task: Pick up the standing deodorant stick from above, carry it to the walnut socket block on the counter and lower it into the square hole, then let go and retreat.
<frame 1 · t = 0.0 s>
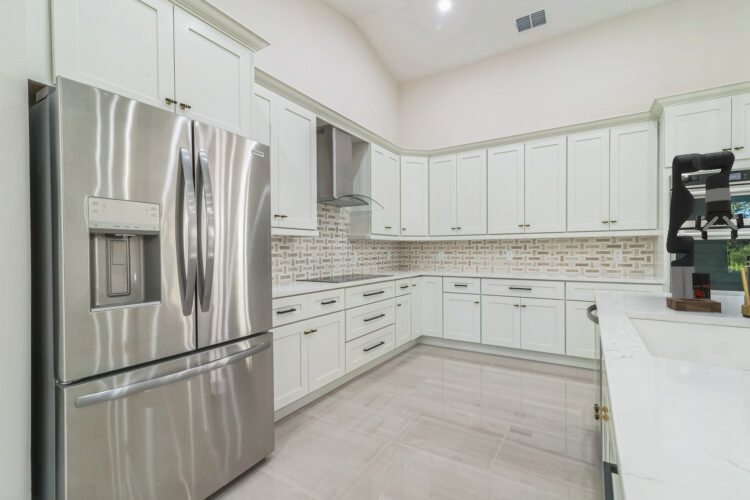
hand: (719, 240, 141), 29 cm above the counter, tool pointing down, fingers open, 8 cm apart
deodorant: (701, 306, 156), on the counter
socket block: (692, 309, 148), on the counter
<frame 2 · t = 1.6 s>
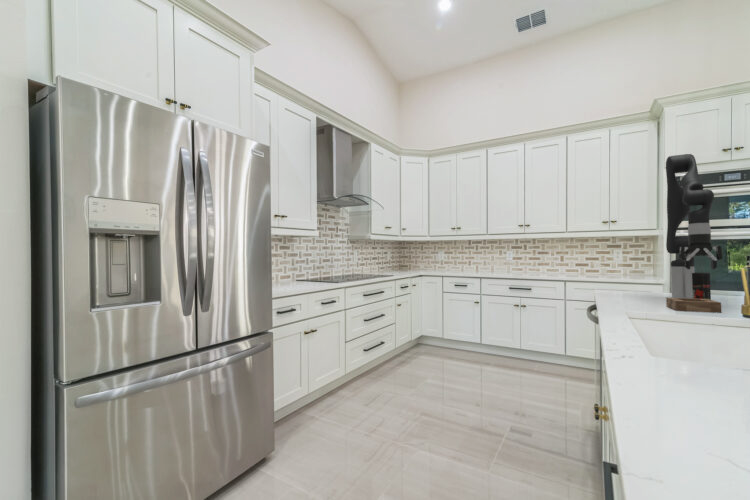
hand: (700, 269, 156), 17 cm above the counter, tool pointing down, fingers open, 8 cm apart
nothing on the counter moved.
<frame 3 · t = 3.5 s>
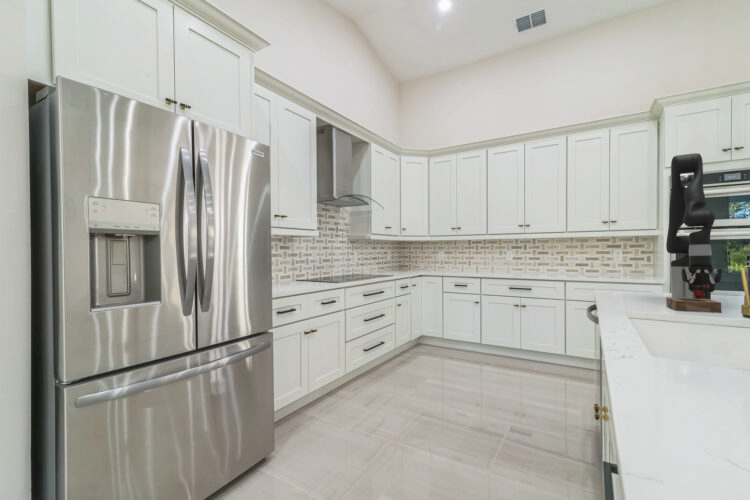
hand: (701, 291, 156), 7 cm above the counter, tool pointing down, fingers closed on deodorant, 6 cm apart
deodorant: (701, 306, 156), on the counter, touching gripper
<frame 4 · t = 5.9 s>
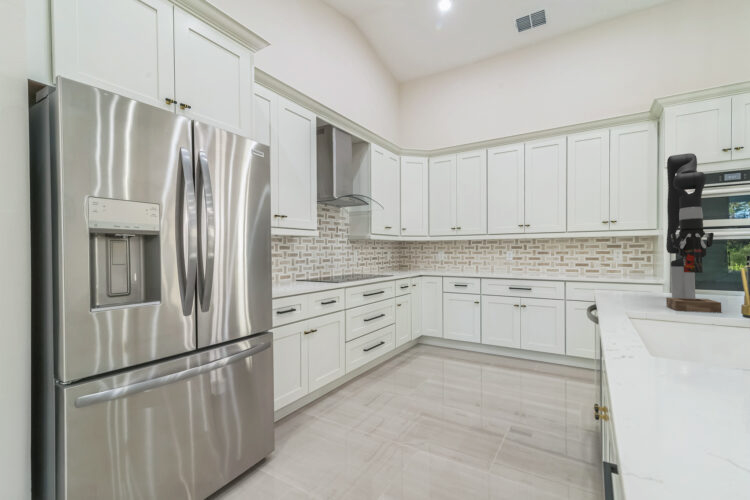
hand: (692, 257, 149), 22 cm above the counter, tool pointing down, fingers closed on deodorant, 6 cm apart
deodorant: (693, 272, 149), point 16 cm above the counter, touching gripper
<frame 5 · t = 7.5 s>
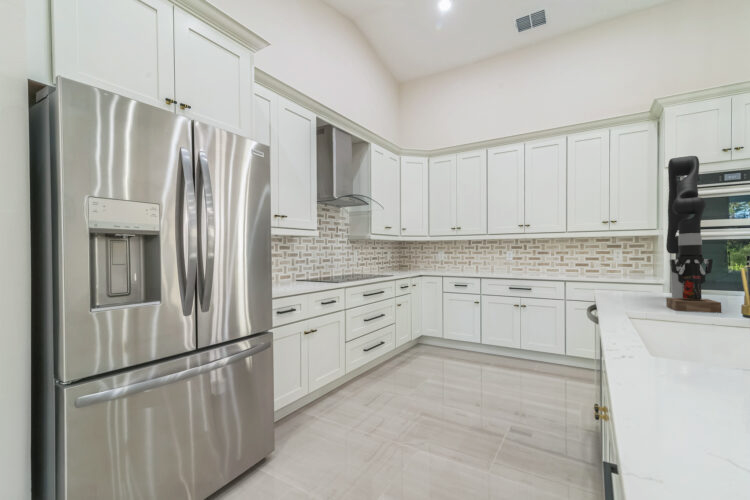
hand: (691, 283, 148), 11 cm above the counter, tool pointing down, fingers closed on deodorant, 6 cm apart
deodorant: (692, 299, 148), point 4 cm above the counter, touching gripper
when the fingers open (8 cm above the counter, at t = 8.6 s): deodorant drops 1 cm, resting in socket block.
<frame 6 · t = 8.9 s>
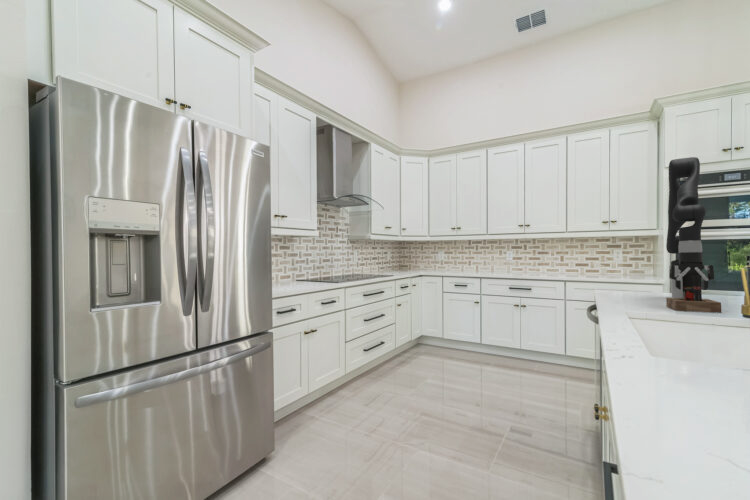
hand: (691, 289, 148), 9 cm above the counter, tool pointing down, fingers open, 8 cm apart
deodorant: (692, 309, 148), resting in socket block
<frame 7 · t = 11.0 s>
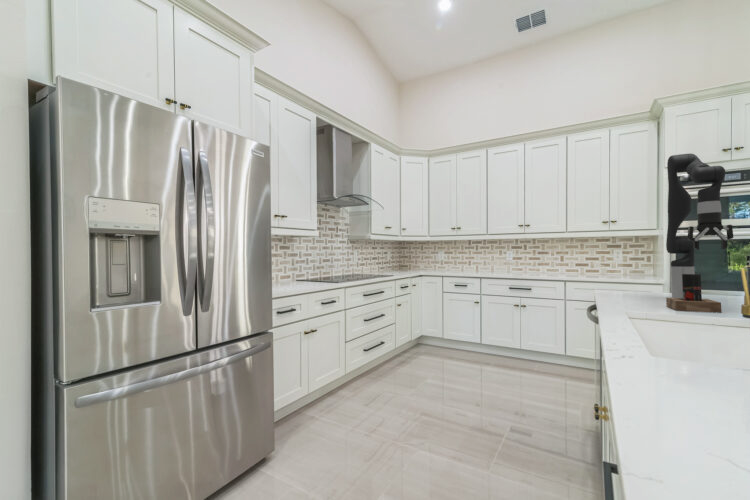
hand: (710, 249, 150), 26 cm above the counter, tool pointing down, fingers open, 8 cm apart
nothing on the counter moved.
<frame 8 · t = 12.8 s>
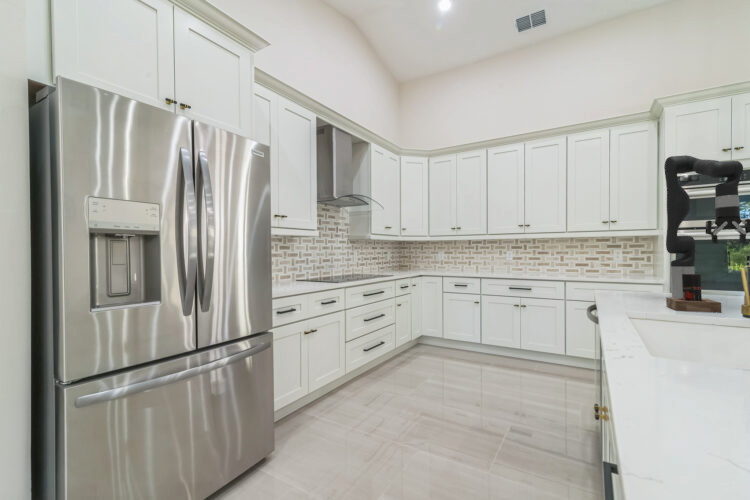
hand: (728, 243, 151), 28 cm above the counter, tool pointing down, fingers open, 8 cm apart
nothing on the counter moved.
at the end: deodorant 0.1 cm off-centre on the socket block, point 0.0 cm above the socket block's base; deodorant tilted 0°; the gripper is holding nothing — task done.
